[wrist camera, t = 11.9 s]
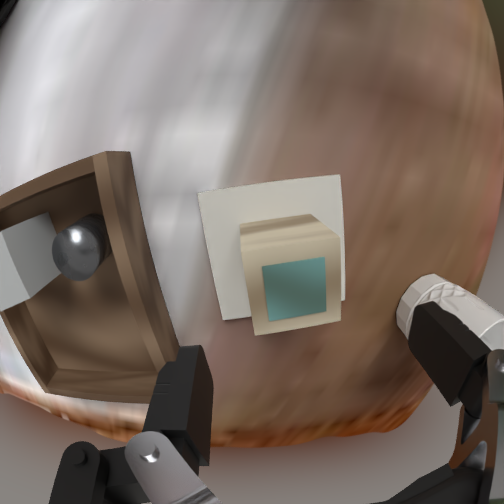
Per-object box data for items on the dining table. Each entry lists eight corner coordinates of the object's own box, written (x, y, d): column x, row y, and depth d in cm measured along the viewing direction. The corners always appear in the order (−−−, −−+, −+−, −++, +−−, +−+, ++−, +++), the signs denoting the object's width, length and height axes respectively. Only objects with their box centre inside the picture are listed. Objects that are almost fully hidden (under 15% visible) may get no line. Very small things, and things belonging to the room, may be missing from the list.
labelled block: (239, 223, 19) (240, 252, 13) (310, 213, 19) (340, 237, 13) (250, 288, 21) (255, 336, 15) (315, 278, 21) (341, 321, 15)
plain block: (17, 232, 18) (-26, 254, 12) (48, 211, 18) (1, 231, 12) (38, 281, 20) (0, 311, 14) (70, 265, 19) (30, 298, 14)
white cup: (399, 349, 25) (445, 414, 15) (380, 298, 22) (441, 368, 13) (453, 308, 24) (508, 358, 14) (443, 252, 21) (516, 298, 12)
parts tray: (-6, 205, 17) (-32, 214, 14) (130, 151, 17) (106, 151, 14) (59, 371, 24) (45, 392, 20) (189, 372, 24) (184, 403, 20)
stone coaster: (198, 192, 19) (197, 193, 18) (337, 174, 19) (339, 174, 18) (223, 316, 22) (223, 320, 21) (342, 296, 22) (344, 299, 21)
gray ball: (76, 252, 19) (53, 274, 15) (77, 209, 18) (51, 224, 14) (115, 262, 19) (96, 286, 16) (118, 217, 18) (97, 234, 15)
